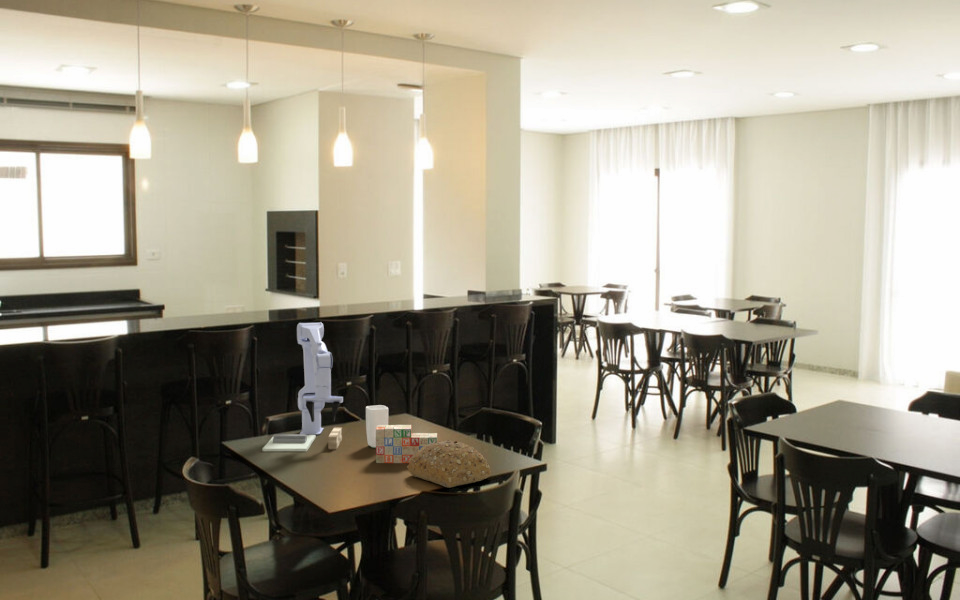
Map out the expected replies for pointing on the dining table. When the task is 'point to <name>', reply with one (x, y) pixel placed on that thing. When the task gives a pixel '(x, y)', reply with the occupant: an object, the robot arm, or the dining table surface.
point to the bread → (449, 464)
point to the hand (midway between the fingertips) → (323, 421)
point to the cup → (375, 421)
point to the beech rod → (335, 438)
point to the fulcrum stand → (289, 442)
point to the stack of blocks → (399, 443)
